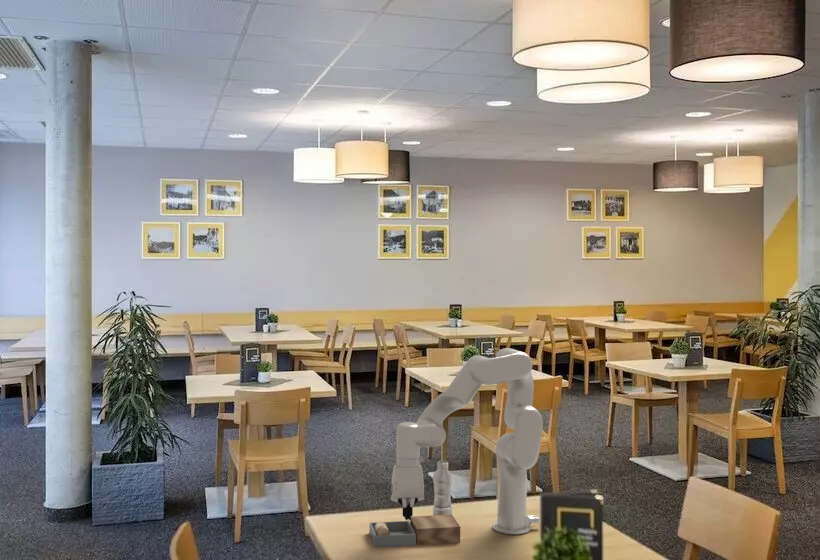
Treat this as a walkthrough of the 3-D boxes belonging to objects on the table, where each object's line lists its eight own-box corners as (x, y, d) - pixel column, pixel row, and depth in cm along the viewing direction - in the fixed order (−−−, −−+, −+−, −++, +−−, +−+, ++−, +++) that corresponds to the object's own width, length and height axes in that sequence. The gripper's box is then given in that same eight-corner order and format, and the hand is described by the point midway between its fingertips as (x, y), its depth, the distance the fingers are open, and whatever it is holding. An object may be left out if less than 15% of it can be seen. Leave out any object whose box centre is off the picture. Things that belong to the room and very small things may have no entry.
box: (408, 531, 269) (408, 520, 269) (415, 545, 256) (416, 534, 256) (369, 533, 267) (369, 522, 267) (374, 547, 254) (374, 536, 254)
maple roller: (376, 520, 264) (372, 532, 264) (380, 528, 257) (376, 540, 256) (388, 523, 265) (384, 535, 265) (392, 532, 257) (387, 544, 257)
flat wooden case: (451, 529, 271) (451, 514, 271) (460, 542, 259) (460, 526, 259) (410, 531, 269) (410, 516, 268) (416, 544, 257) (416, 528, 257)
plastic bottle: (450, 523, 277) (451, 465, 276) (430, 522, 278) (431, 463, 277) (453, 517, 283) (454, 460, 282) (434, 516, 285) (434, 459, 284)
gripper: (428, 458, 266) (428, 513, 267) (383, 459, 264) (382, 515, 265) (433, 464, 259) (432, 521, 260) (386, 465, 256) (386, 523, 257)
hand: (407, 518), depth 262 cm, fingers closed
